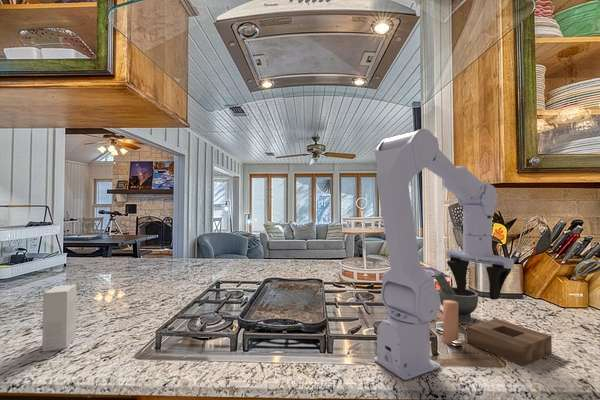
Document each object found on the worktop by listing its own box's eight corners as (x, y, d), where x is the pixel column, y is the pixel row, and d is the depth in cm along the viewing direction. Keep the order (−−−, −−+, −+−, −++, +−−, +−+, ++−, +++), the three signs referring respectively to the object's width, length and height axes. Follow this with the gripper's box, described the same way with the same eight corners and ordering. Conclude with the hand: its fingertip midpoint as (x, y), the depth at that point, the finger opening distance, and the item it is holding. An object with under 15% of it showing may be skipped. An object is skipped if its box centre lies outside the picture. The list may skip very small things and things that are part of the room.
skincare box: (53, 340, 66) (54, 285, 67) (76, 337, 68) (77, 284, 68) (40, 352, 61) (42, 293, 61) (66, 349, 62) (67, 291, 63)
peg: (452, 347, 64) (452, 305, 64) (440, 341, 67) (440, 301, 67) (461, 344, 66) (461, 303, 66) (449, 339, 68) (448, 299, 68)
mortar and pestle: (472, 312, 86) (472, 270, 86) (484, 325, 77) (484, 277, 77) (430, 309, 88) (430, 268, 89) (437, 320, 79) (436, 275, 80)
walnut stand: (523, 366, 57) (522, 347, 57) (467, 342, 66) (467, 326, 67) (551, 353, 62) (551, 336, 62) (496, 333, 72) (495, 318, 72)
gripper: (521, 237, 65) (522, 300, 64) (458, 232, 78) (458, 285, 77) (502, 238, 61) (503, 305, 61) (440, 232, 74) (440, 288, 74)
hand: (477, 294), depth 69 cm, fingers open, 7 cm apart
